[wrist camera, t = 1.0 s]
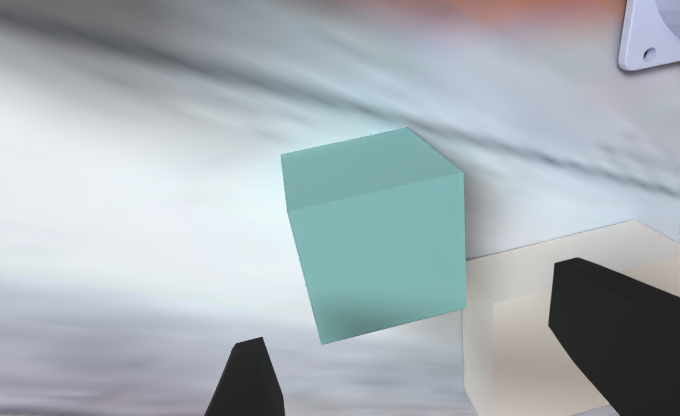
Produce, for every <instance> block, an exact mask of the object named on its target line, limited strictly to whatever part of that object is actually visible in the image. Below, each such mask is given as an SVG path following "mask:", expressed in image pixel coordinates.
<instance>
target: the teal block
mask: <svg viewBox="0 0 680 416" xmlns="http://www.w3.org/2000/svg"><path fill="white" fill-rule="evenodd" d="M281 161H282V170H283V179H284V188H285V197H286V206H287V213H288V217H289V221H290V225H291V229H292V232H293V236H294V240H295V244H296V248H297V252H298V256H299V260H300V263H301V267H302V271H303V275H304V279H305V283H306V287H307V290H308V294H309V298H310V302H311V306H312V310H313V314H314V318H315V321H316V325H317V329H318V333H319V337H320V341H321V345H324V344H328V343H331V342H335V341H339V340H343V339H347V338H351V337H355V336H359V335H363V334H367V333H371V332H375V331H379V330H383V329H387V328H390V327H394V326H398V325H402V324H406V323H410V322H414V321H418V320H422V319H426V318H430V317H434V316H438V315H442V314H446V313H449V312H453V311H457V310H461V309H465V308H467V298H466V251H465V205H464V172H463V171H462V170H461V169H460V168H458V167H457V166H456V165H454V164H453V163H452V162H451V161H449V160H448V159H447V158H446V157H444V156H443V155H442V154H440V153H439V152H438V151H437V150H435V149H434V148H433V147H432V146H430V145H429V144H428V143H426V142H425V141H424V140H423V139H421V138H420V137H419V136H418V135H416V134H415V133H414V132H412V131H411V130H410V129H409V128H402V129H398V130H393V131H388V132H384V133H379V134H374V135H370V136H365V137H360V138H356V139H351V140H346V141H342V142H337V143H333V144H328V145H323V146H319V147H314V148H309V149H305V150H300V151H295V152H291V153H286V154H281Z"/></svg>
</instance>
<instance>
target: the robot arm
mask: <svg viewBox="0 0 680 416" xmlns="http://www.w3.org/2000/svg"><path fill="white" fill-rule="evenodd" d="M646 50H647V54H646V57H645V58H644V59H643V56H644V53H645V51H646ZM678 61H680V0H627V5H626V12H625V18H624V25H623V32H622V38H621V45H620V51H619V58H618V64H619V66H620V68H622V69H623V70H628V71H636V70H640V69H645V68H650V67H654V66H659V65H664V64H669V63H673V62H678ZM548 326H549V328H550V329H551V331H552V332H553V334H554V335H555V337H556V338H557V340H558V341H559V343H560V344H561V346H562V347H563V348H564V350H565V351H566V353H567V354H568V355H569V357H570V358H571V359H572V361H573V362H574V363H575V365H576V366H577V367H578V368H579V369H580V370H581V372H582V373H583V374H584V375H585V376H586V377H587V379H588V380H589V381H590V382H591V383H592V384H593V385H594V386H595V388H596V389H597V390H598V391H599V392H600V393H601V394H602V396H603V397H604V398H605V399H606V400H607V401H608V402H609V403H610V405H611V406H612V407H613V408H614V409H615V410H616V411H617V412H618V413H619V415H620V416H680V297H678V296H676V295H673V294H671V293H668V292H666V291H663V290H661V289H658V288H656V287H653V286H651V285H648V284H646V283H644V282H641V281H639V280H636V279H634V278H631V277H629V276H626V275H624V274H621V273H619V272H616V271H614V270H611V269H609V268H606V267H604V266H601V265H599V264H596V263H593V262H591V261H588V260H585V259H582V258H579V257H576V258H572V259H568V260H564V261H560V262H556V263H554V273H553V282H552V292H551V302H550V311H549V321H548ZM204 416H285V410H284V401H283V395H282V392H281V389H280V386H279V383H278V380H277V377H276V375H275V372H274V369H273V366H272V363H271V360H270V357H269V355H268V352H267V349H266V346H265V343H264V340H263V337H260V338H256V339H252V340H248V341H244V342H240V343H236V344H235V346H234V347H233V348H232V351H231V354H230V356H229V359H228V361H227V364H226V366H225V369H224V371H223V374H222V376H221V379H220V381H219V383H218V386H217V388H216V390H215V393H214V395H213V397H212V400H211V402H210V404H209V406H208V408H207V411H206V413H205V415H204Z"/></svg>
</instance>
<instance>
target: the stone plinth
mask: <svg viewBox="0 0 680 416" xmlns="http://www.w3.org/2000/svg"><path fill="white" fill-rule="evenodd" d="M576 257H579V258H582V259H585V260H588V261H591V262H593V263H596V264H599V265H601V266H604V267H606V268H609V269H611V270H614V271H616V272H619V273H621V274H624V275H626V276H629V277H631V278H634V279H636V280H639V281H641V282H644V283H646V284H648V285H651V286H653V287H656V288H658V289H661V290H663V291H666V292H668V293H671V294H673V295H676V296H678V297H680V244H678V243H677V242H675V241H673V240H671V239H669V238H668V237H666V236H664V235H662V234H660V233H659V232H657V231H655V230H653V229H651V228H649V227H648V226H646V225H644V224H642V223H640V222H639V221H637V220H631V221H627V222H623V223H619V224H615V225H611V226H607V227H602V228H598V229H594V230H590V231H586V232H582V233H578V234H574V235H570V236H566V237H562V238H558V239H553V240H549V241H545V242H541V243H537V244H533V245H529V246H525V247H521V248H517V249H513V250H509V251H504V252H500V253H496V254H492V255H488V256H484V257H480V258H476V259H472V260H468V261H466V298H467V308H465V309H462V320H463V355H464V389H465V391H466V392H467V394H468V396H469V398H470V400H471V402H472V404H473V406H474V407H475V409H476V411H477V413H478V415H479V416H570V415H574V414H577V413H581V412H584V411H588V410H591V409H595V408H598V407H602V406H606V405H609V404H610V403H609V402H608V401H607V400H606V399H605V398H604V397H603V396H602V394H601V393H600V392H599V391H598V390H597V389H596V388H595V386H594V385H593V384H592V383H591V382H590V381H589V380H588V379H587V377H586V376H585V375H584V374H583V373H582V372H581V370H580V369H579V368H578V367H577V366H576V365H575V363H574V362H573V361H572V359H571V358H570V357H569V355H568V354H567V353H566V351H565V350H564V348H563V347H562V346H561V344H560V343H559V341H558V340H557V338H556V337H555V335H554V334H553V332H552V331H551V329H550V328H549V326H548V321H549V311H550V302H551V292H552V282H553V273H554V263H556V262H560V261H564V260H568V259H572V258H576Z"/></svg>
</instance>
